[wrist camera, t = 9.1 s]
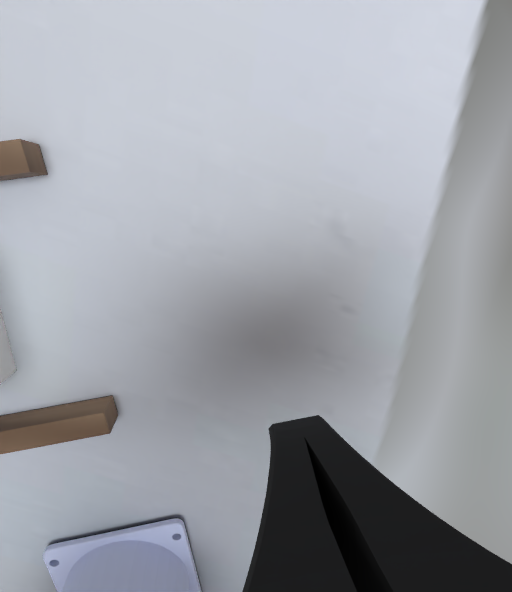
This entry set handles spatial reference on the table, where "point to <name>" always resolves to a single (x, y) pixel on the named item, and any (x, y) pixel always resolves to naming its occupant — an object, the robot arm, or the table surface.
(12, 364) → the white cube
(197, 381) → the table surface
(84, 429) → the u-shaped frame
